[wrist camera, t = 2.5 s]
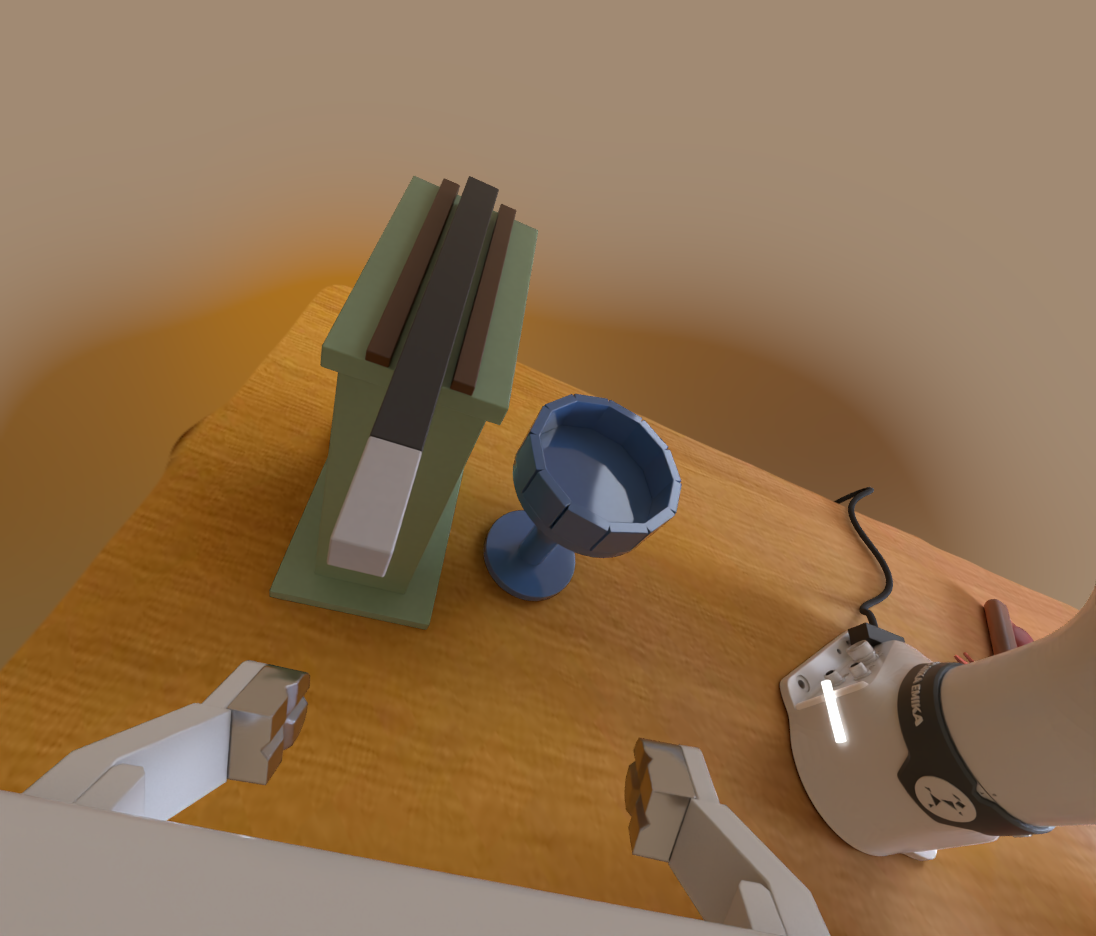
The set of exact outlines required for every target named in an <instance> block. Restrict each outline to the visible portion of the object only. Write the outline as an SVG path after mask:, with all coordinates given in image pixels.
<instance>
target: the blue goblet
mask: <svg viewBox="0 0 1096 936" xmlns="http://www.w3.org/2000/svg"><path fill="white" fill-rule="evenodd" d="M641 420H642V418H641V417H640V416H638V415H636V414H634V413H633V412H631V411H629V410H627V409H626V408H624V407H622V406H621V405H619V404H617V403H615V402H614V401H612V400H609V402H608V399H605V398H599V397H593V396H586V395H580V394H574V395H572V394H571V395H568V396H566V397H563V398H560V399H558V400H555V401H553V402H550V403H547V404H545V405H544V406H543V407H542V408H541V410H540V412H539V414H538V415H537V417H536V419H535V420H534V422H533V424H532V426H531V427H530V429H529V431H528V433H527V435H526V436H525V438H524V440H523V442H522V444H521V446H520V447H519V449H518V451H517V454H516V456H515V460H514V464H513V481H514V486H515V490H516V493H517V496H518V499H519V501H520V503H521V505H522V507H523V509H524V510H519V511H513V512H510V513H507V514H505V515H503V516H502V517H500V518H499V519H498V520H497V521H496V522H495V523H494V524H493V525H492V527H491V529H490V530H489V532H488V533H487V536H486V538H485V542H484V559H485V563H486V566H487V569H488V571H489V573H490V575H491V576H492V578H493V579H494V581H495V582H496V583H497V584H498V585H499V586H500V587H501V588H502V589H503V590H505V591H506V592H507V593H509V594H511V595H513V596H515V597H517V598H520V599H523V600H528V601H542V600H546V599H549V598H552V597H554V596H555V595H557V594H558V593H559V592H560V591H562V590H563V589H564V588H565V587H566V586H567V584H568V583H569V582H570V580H571V578H572V576H573V573H574V569H575V554H574V552H575V553H578V554H581V555H585V556H589V557H597V558H610V557H616V556H621V555H623V554H626V553H628V552H630V551H632V550H633V549H635V548H636V547H637V546H638V545H640V544H641V543H642V542H643V541H645V540H646V539H647V538H649V537H650V536H651V535H653V534H654V533H655V532H656V531H657V530H659V529H660V528H661V527H662V526H663V525H664V524H666V523H667V522H668V521H669V520H670V519H671V518H672V517H674V516H675V513H676V511H677V506H678V501H679V496H680V491H681V485H682V484H681V483H680V482H681V479H680V476H679V473H678V470H677V468H676V465H675V462H674V459H673V457H672V454H671V451H670V450H667V449H668V446H667V445H666V444H665V443H664V442H663V441H662V439H661V438H660V437H659V436H658V435H657V434H656V433H655V432H654V430H653V429H652V428H651V427H650V426H649V425H648V424H647V422H646V421H645V420H643V421H641Z"/></svg>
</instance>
